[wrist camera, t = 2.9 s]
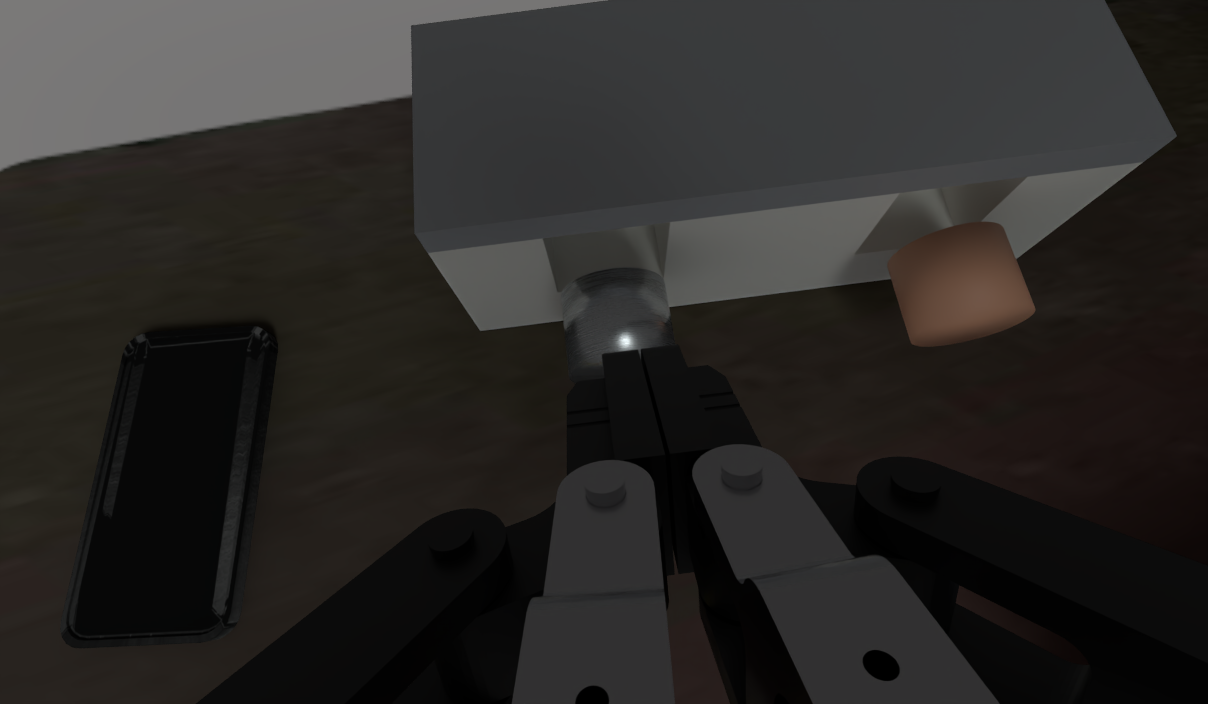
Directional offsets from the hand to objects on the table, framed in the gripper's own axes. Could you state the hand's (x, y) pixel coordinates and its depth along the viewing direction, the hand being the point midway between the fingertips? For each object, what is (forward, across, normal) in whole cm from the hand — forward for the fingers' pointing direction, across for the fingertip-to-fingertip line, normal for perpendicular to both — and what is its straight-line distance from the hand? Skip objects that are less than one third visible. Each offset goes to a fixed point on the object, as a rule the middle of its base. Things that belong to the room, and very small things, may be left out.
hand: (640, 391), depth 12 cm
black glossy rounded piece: (+14, 0, +6) cm, 15 cm away
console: (+22, -7, +2) cm, 23 cm away
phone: (+15, +22, +10) cm, 29 cm away
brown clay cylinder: (+14, -14, +5) cm, 20 cm away
